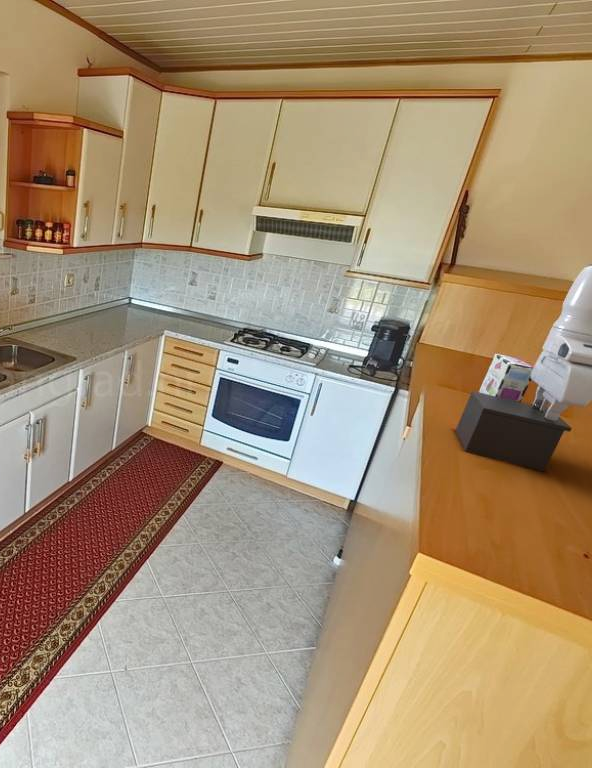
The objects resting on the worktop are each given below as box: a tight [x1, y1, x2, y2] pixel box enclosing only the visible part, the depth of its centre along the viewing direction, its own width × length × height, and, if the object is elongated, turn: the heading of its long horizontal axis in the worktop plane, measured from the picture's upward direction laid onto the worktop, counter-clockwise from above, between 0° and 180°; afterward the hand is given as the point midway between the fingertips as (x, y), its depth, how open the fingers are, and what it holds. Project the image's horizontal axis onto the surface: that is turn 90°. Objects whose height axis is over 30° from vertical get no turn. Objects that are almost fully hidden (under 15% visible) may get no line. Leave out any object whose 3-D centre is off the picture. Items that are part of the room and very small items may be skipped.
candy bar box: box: [478, 353, 534, 402], centre depth 112 cm, size 11×5×16 cm, turn 154°
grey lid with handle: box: [470, 390, 572, 432], centre depth 98 cm, size 13×13×5 cm
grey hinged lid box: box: [455, 394, 565, 473], centre depth 100 cm, size 13×13×9 cm
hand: (543, 413), depth 96 cm, fingers closed on grey lid with handle, 6 cm apart
